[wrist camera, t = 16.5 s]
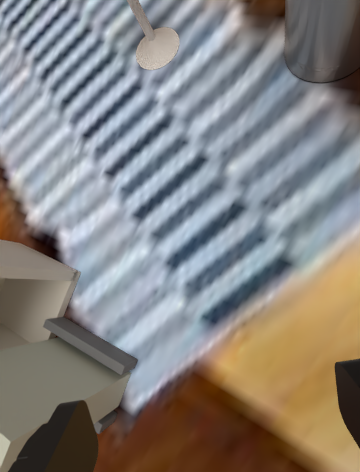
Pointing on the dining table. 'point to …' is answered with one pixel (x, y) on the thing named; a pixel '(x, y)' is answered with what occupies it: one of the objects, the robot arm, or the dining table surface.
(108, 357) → the hinge cabinet
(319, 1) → the robot arm
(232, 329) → the dining table surface
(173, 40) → the champagne flute
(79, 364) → the door panel
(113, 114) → the dining table surface
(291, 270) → the dining table surface
